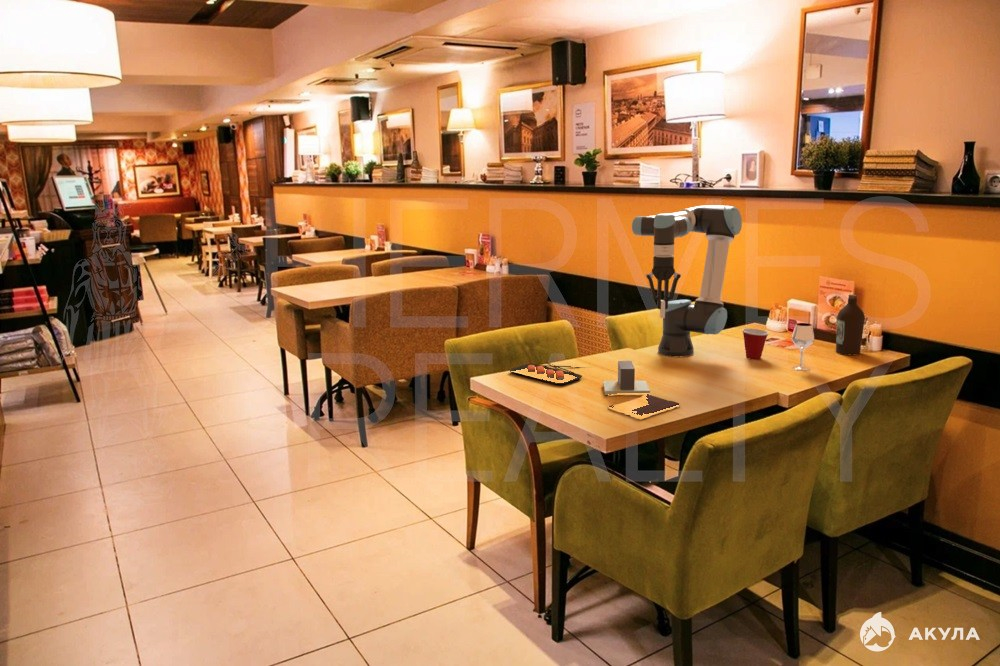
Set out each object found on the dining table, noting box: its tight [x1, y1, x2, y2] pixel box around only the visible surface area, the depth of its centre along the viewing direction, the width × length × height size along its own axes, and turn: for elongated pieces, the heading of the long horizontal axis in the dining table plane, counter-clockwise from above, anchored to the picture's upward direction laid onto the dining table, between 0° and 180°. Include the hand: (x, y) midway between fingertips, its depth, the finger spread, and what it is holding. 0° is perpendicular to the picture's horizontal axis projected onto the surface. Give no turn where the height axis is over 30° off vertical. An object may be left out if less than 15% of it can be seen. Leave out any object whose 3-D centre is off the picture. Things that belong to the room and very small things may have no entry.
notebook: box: [609, 394, 680, 416], centre depth 246 cm, size 15×20×2 cm
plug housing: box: [617, 360, 636, 390], centre depth 264 cm, size 11×5×8 cm, turn 176°
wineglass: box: [791, 322, 815, 371], centre depth 284 cm, size 8×8×18 cm
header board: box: [602, 380, 651, 396], centre depth 264 cm, size 12×16×6 cm
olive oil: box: [835, 294, 866, 356], centre depth 303 cm, size 11×11×25 cm
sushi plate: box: [509, 362, 583, 385], centre depth 291 cm, size 29×30×4 cm
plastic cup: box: [741, 327, 770, 361], centre depth 301 cm, size 11×11×12 cm
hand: (662, 317), depth 273 cm, fingers closed
